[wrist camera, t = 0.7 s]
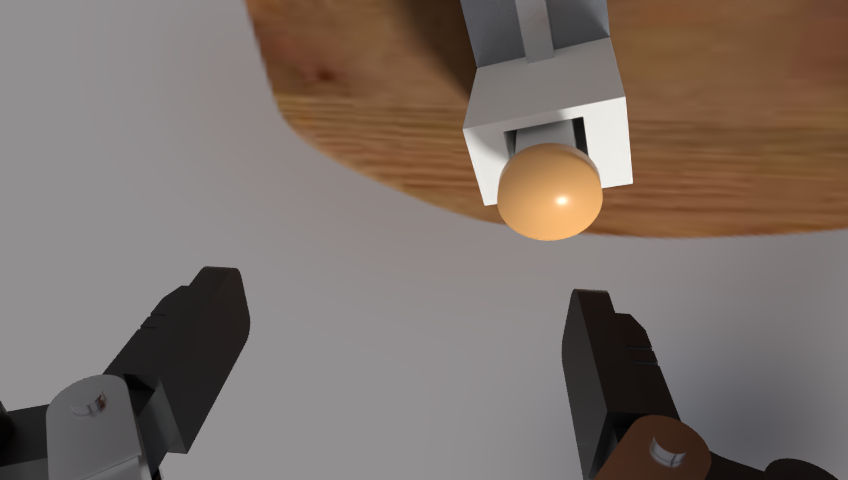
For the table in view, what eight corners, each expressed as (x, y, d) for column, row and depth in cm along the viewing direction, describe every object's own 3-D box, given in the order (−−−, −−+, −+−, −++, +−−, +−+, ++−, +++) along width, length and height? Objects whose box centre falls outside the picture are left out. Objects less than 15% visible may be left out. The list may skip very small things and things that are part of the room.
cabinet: (477, 68, 34) (462, 128, 28) (610, 37, 31) (625, 96, 25) (494, 136, 37) (484, 205, 31) (617, 113, 34) (632, 183, 28)
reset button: (497, 98, 30) (486, 166, 24) (586, 80, 28) (596, 147, 23) (514, 171, 32) (508, 245, 27) (596, 157, 31) (607, 233, 26)
